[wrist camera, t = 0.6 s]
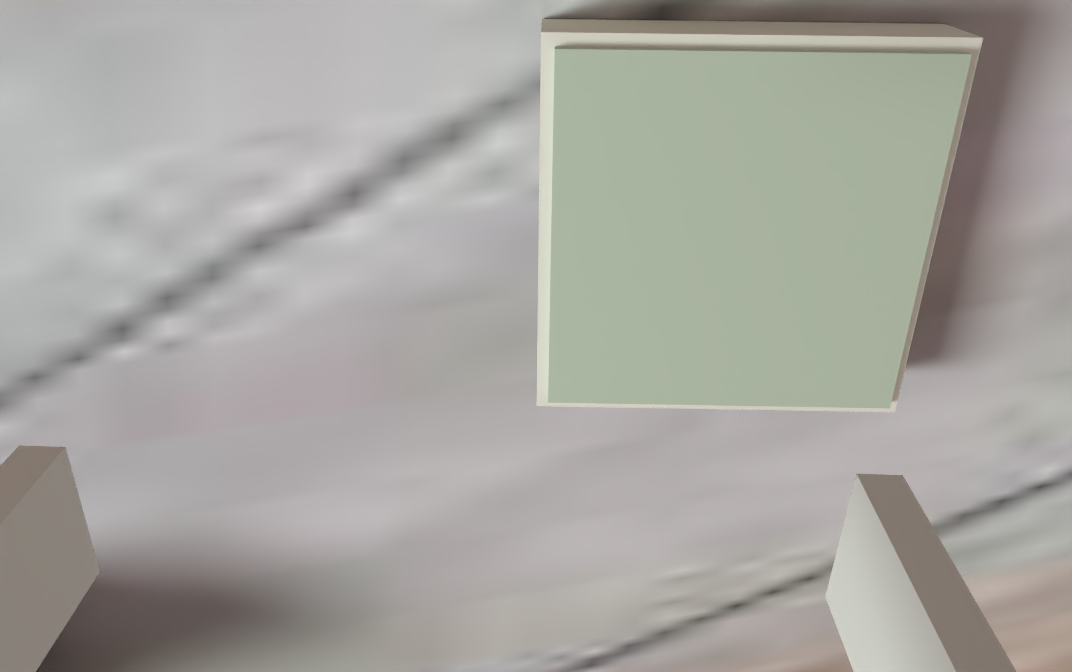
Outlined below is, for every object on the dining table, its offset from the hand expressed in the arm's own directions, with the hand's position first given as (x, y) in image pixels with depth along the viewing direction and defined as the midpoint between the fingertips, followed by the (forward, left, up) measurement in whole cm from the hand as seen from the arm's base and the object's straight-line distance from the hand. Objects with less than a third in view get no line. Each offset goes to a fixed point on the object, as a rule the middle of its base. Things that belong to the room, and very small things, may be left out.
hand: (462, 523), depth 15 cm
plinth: (+3, +9, -25) cm, 27 cm away
